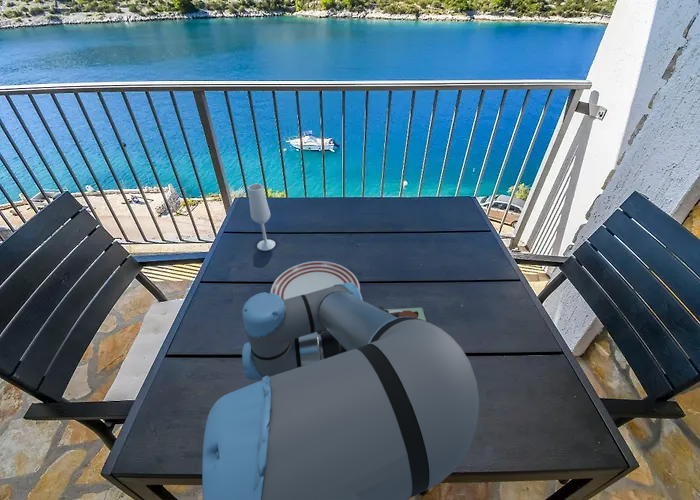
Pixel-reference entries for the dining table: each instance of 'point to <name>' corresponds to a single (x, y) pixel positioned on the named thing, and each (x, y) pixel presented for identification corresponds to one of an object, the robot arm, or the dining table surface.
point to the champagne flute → (260, 213)
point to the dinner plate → (311, 278)
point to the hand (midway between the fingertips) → (424, 334)
